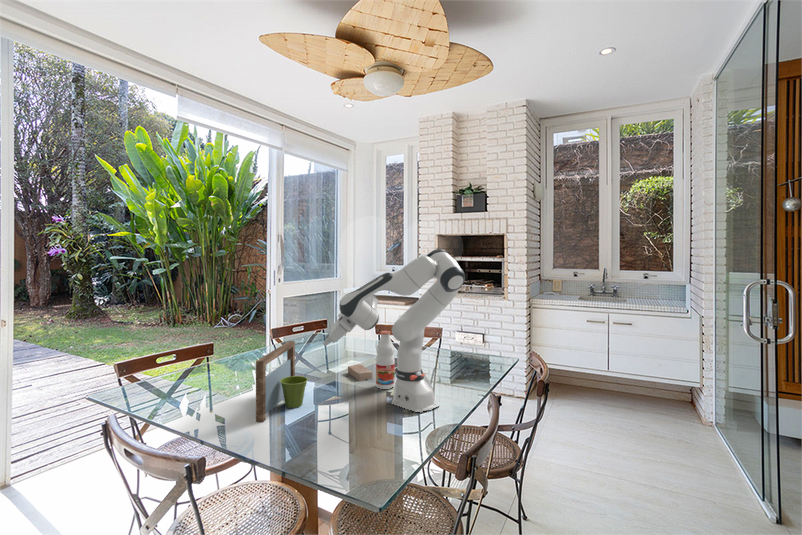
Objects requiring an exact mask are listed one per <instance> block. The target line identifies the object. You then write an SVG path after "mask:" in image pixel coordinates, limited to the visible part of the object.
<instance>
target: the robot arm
mask: <svg viewBox="0 0 802 535" xmlns="http://www.w3.org/2000/svg"><path fill="white" fill-rule="evenodd" d="M432 279H436V281H435V282H433V284H432V285H431V286H430V287H429V288H428V289H427V290H426V291H425V292H424V293H423V294H422V295H421V296H420V298H419V299H418V300H416V301H415V303H413V305H411V306H410V307H409V308H408V309H407V310H406V311H405V312H404V313H402V315H400V316H399V317H398V319H397V320H396V321H395V322H394V323H393V325H392V327H391V333H392V336H393V338H394V339H395V340H396V341H398V342H399V345H398V349H397V353H396V355H397V356H396V358H397V359H396V360H397V362H396V364H397V366H396V368H395V370H396V371H395V376H396V380H395V382H394V388H393V399H392V400H391V405H393V404H394V406H396V405H397V406H396V407H399V406H400V407H399V408H401V407H402V408H401V409H404V408H405V410H407V409H409V410H408V411H410V410H412V411H415V412H420V413H424V412H423V411H426V410H429V409H432V408H434V407H436V406H434V405H436V404H437V403H436V401H437V400H435V394H434V390H433V388H432V387H430V385H429V384H428V383H427V381H426V380H425V377H426V375H425V374H426V373H424V372H423V369H422V351H423V345H424V338H425V330H426V327H427V326H428V325H430V324H431V323H433V321H434V320H435V319H436V318H437V317H438V316H439V315H440V314H441V312H443V311H444V310H445V309H446V308H447V307H448V306H449V305H450V304H451V302H452V301H453V300H454V298H455V297H456V296H457V294H458V292H459V291H460V289H461V287H462V286H463V285H464V283H465V282H466V274H465V272H464V269H462V268H461V266H460V265H459V263H458V262H457V260H456V259H455V258H453V257H452V256H451V255H450V253H449V252H448V251H446V250H445V249H443V248H436V249H433V250H432V251H430V252H429V253H428V254H427V255H420V256H418V257H417V258H415V259H413V260H412V261H410V262H409V263H407V264H406V265H405V266H404V267H402V268H401V269H399V270H397V271H394V272H385V273H383V274H381V275H378V276H377V277H376V278H374V279H372V280H370V281H368V282H366V284H363V286H360V287H359V288H357V289H356V290H353V291H351V292H348V293H347V294H345V295H344V296H342V298H341V299H340V300H339V311H340V313H339V314H338V315H337V317H338V319H337V320H336V321H335V322H334V323H333V324H332V325H331V327H330V331H328V332H327V334H326V335H325V340H324V341H323V343H322V345H323V346H325V347H327V346H328V345H329V344H330V343H336V342H338V341H339V340H341V339H342V338H343V337H344V336H345V335H346V334H347V333H350V332H351V331H353V329H355V327H356V326H358V327H360V329H363V330H364V331H369V330H372V329H374V328H375V327H376V326H377V325H378V323H379V320H380V315H379V313H378V304H379V302H380V301H379V299H378V297H376V295H375V294H376V293H378V292H381V291H387V292H391V293H394V294H397V295H399V296H402V297H403V296H404V297H406V296H407V297H408V296H411V295H413V294H415V293H416V292H417V291H419V290H420V289H421V288H423V286H425V285H426V284H427V283H428V282H429V281H430V280H432ZM412 411H411V412H412ZM415 412H414V413H415Z"/></svg>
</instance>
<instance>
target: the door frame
mask: <svg viewBox="0 0 802 535" xmlns="http://www.w3.org/2000/svg"><path fill="white" fill-rule="evenodd" d="M284 353H286V356H287V357H286V358H287V359H286V361H287V360H289V359H291V376H296V372H295V371H296V341H294V340H292V341H291V340H290V341H289V340H288V341H287V342H286V343H284V344H281V345H280V346H278V347H277V348H275V349H274V350H272V351H271V352H269V353H267V354H265V355H264V356H262V357H261V358H258V359H257V360H256V361H255V423H264V422H265V421H266V420H267V419H266V416H267V414H266V376H267V375H266V374H267V373H266V366H267V365H268V364H269V363H271V362H272V361H274V360H275V359H277V358H278V357H280V356H281V355H283V354H284Z"/></svg>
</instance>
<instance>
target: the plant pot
mask: <svg viewBox="0 0 802 535" xmlns="http://www.w3.org/2000/svg"><path fill="white" fill-rule="evenodd" d="M308 381H309V378H308V377H306V376H302V375H295V376H290V377H285V378H283V379H281V380H280V382H281V384H282V388H283V394H284V398H283V399H284V400H283V401H284V405H285V407H286V408H288V409H292V408H296V407H297V408H299V406H300V407H301V406H302V405H303V401H304V396H305V391H306V386H307V382H308Z"/></svg>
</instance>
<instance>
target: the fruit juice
mask: <svg viewBox="0 0 802 535" xmlns="http://www.w3.org/2000/svg"><path fill="white" fill-rule="evenodd" d="M375 351H376V358H375V388H376V387H377V388H376V389H378V388H380V389H379V390H381V389H389V388H392V387H395V376H396V371H395V370H396V368H395V363H396V362H395V361H396V360H395V356H394V353H395V346H394V343H393V342H392V339H391V331H389V330H381V331H380V339H379V342H378V344H377V345H376V350H375ZM392 389H393V388H392ZM389 390H390V389H389Z"/></svg>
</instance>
